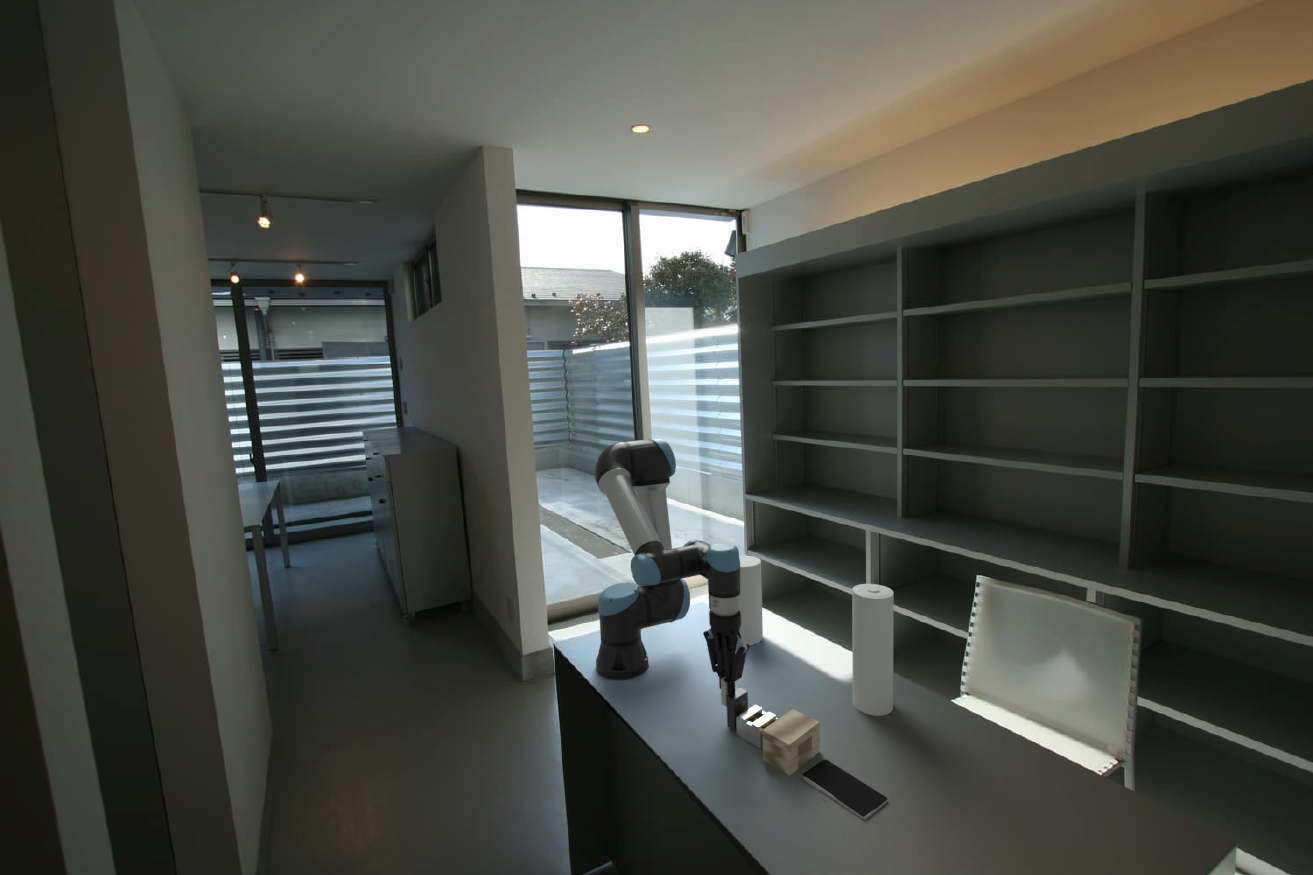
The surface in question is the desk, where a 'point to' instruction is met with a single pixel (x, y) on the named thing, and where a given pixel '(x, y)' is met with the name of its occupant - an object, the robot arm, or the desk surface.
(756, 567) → the tall pillar cylinder
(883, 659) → the cylinder container
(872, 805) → the smartphone
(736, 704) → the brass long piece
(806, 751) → the socket
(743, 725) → the sleeve
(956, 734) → the desk surface
